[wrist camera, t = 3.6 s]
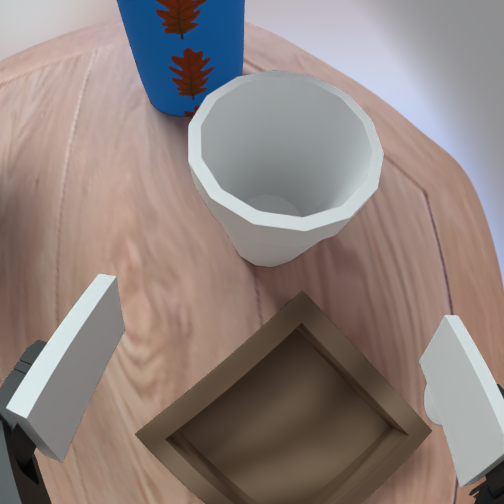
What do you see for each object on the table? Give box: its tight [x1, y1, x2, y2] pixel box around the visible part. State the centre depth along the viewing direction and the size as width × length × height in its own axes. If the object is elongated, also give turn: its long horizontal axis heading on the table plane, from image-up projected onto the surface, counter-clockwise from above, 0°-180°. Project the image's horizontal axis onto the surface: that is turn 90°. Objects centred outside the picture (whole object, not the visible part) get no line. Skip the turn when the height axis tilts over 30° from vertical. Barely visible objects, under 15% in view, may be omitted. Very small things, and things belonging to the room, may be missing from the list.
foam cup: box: [188, 70, 384, 267], centre depth 20 cm, size 10×9×13 cm
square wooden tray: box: [135, 290, 432, 504], centre depth 20 cm, size 15×15×4 cm
